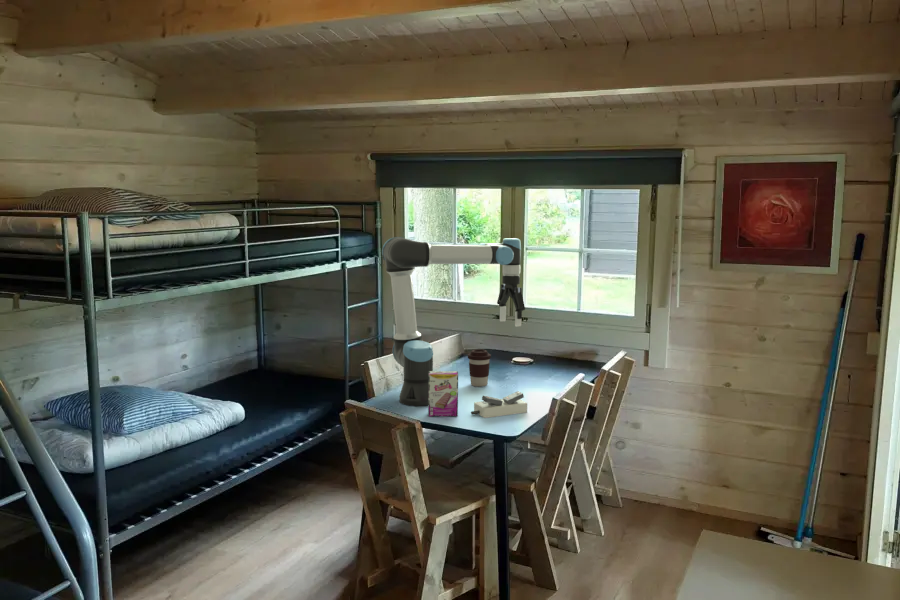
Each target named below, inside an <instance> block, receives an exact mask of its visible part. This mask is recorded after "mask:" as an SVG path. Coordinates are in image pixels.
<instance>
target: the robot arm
mask: <svg viewBox="0 0 900 600" xmlns="http://www.w3.org/2000/svg"><path fill="white" fill-rule="evenodd" d="M521 244H522V243H521V239H519V238H516V237H513V238H510V237H509V238H507V237H506V238H503V240H502V242H500V243H498V242H497V243H495V242H493V243H490V242H489V243H485V242H484V243H477V245H476V244H474V245H473V244H430V243H429V242H427V241H417V240H412V239H408V238H404V237H403V236H395V237H391V238H389V239H387V240H386V241H385V242H384V244H383V246H382V250H381V254H382V257H383V260H384V261H385V269H386V271H385V272H386V273H387V274H389V276H390V282H391V283H390V285H391V290H392V291H391V292H392V301H393V311H394V320H395V330H396V331H395V332H396V333H395V334H394V336H393V346H392V355H393V359H394V360H395V362H397V364H398V365H400V366H401V367H402V368H403V383H402V387H401V390H400V393H399V403H400V404H402V405H406V406H413V407H423V406H428V385H429V371H434V350H433V345H432V344H431V343H429V342H428V341H424V340H423V338H422V333H421V332H420V331H418V325H417V314H416V304H415V294H414V292H415V291H414V284H413V272H414V271H415V270H416V268H420V267H421V268H422V267H423V268H424V267H429V266H430V265H501V266H502V278H501V279H502V281H501V283H502V284H500V291H499V294H498V296H497V297H498V298H497V301H496V304H497V305H498V306H499V322H501V323H502V322H506V321H507V319H506V318H507V302H508V301H509V298H511V299H512V302H513V305H514V308H515V310H514V311H515V312H514V313H515V314H514V327H515V328H516V327H517V328H518V327H522V322H523V321H522V318H523V317H522V316H523V314H522V313H523V311H525V310H526V307H525V302H524V297H523V294H522V290H523V289H522V287H520V286H519V287H518V285H520V283H521V275H520V274H521V254H522V252H521V251H522V245H521Z"/></svg>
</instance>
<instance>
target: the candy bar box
mask: <svg viewBox="0 0 900 600" xmlns="http://www.w3.org/2000/svg"><path fill="white" fill-rule="evenodd" d="M427 408H428V409H427V411H428V412H427V413H428V415H427V416H428V417H458V414H459V372H458V371H456V370H453V371H451V370H450V371H449V370H444V371H443V370H442V371H441V370H433V371H429V385H428V405H427Z"/></svg>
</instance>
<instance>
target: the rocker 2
mask: <svg viewBox="0 0 900 600" xmlns="http://www.w3.org/2000/svg"><path fill="white" fill-rule="evenodd" d="M524 398H525V395H524V393H523V392H521V391H518V390H517V391H515V392H513V393H511V394H509V395H506V396H504V397H503V398H502V399H503V400H504V402H505V403H507V404H511V403H513V402H515V401H517V400H519V399H520V400H522V399H524Z"/></svg>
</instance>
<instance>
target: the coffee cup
mask: <svg viewBox="0 0 900 600" xmlns="http://www.w3.org/2000/svg"><path fill="white" fill-rule="evenodd" d="M491 358H492V354H491V353H489V352H488V350H486V349H483V348H482V349H479V348H478V349H472V350H471V351H470V353H468V354H467V359H468V361H469V362H468V368H469V369H468V370H469V378H470V379H469V380H470V385H471V386H473V387H480V388H481V387H486V386H488V384H489V381H488V380H489V375H490V359H491Z"/></svg>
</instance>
